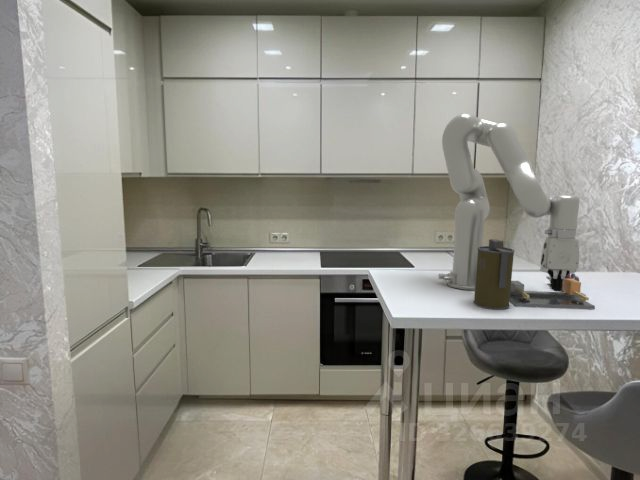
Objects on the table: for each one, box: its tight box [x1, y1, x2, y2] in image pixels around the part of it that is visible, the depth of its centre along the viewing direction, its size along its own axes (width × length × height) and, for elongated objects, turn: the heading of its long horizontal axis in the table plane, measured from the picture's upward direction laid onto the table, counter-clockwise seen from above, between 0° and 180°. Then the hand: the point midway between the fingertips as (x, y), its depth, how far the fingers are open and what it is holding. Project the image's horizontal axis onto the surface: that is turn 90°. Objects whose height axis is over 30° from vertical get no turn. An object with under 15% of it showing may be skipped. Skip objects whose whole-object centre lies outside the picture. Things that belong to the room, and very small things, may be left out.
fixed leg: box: [510, 280, 530, 300], centre depth 135 cm, size 3×12×4 cm, turn 176°
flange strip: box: [509, 298, 596, 310], centre depth 132 cm, size 23×6×1 cm, turn 86°
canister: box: [473, 238, 515, 311], centre depth 129 cm, size 11×10×20 cm
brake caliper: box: [545, 270, 581, 292], centre depth 151 cm, size 11×11×12 cm
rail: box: [510, 290, 587, 301], centre depth 138 cm, size 24×2×2 cm, turn 86°
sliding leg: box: [561, 279, 590, 302], centre depth 134 cm, size 3×12×5 cm, turn 176°
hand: (555, 289), depth 138 cm, fingers closed
